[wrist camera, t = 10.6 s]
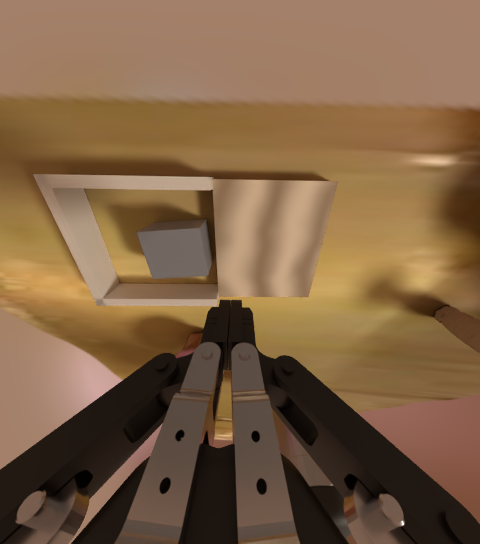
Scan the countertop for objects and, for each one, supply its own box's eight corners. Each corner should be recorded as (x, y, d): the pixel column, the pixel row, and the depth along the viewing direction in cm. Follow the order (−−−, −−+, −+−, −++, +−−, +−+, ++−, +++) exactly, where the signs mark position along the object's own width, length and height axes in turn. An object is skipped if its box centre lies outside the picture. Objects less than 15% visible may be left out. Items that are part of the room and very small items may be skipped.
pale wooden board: (329, 181, 21) (338, 181, 19) (304, 289, 29) (308, 297, 27) (214, 179, 21) (212, 179, 19) (219, 289, 28) (218, 296, 27)
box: (214, 177, 21) (209, 177, 17) (219, 290, 28) (217, 306, 25) (67, 174, 20) (32, 173, 17) (114, 289, 28) (97, 305, 25)
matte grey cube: (207, 218, 23) (199, 228, 19) (213, 259, 26) (208, 275, 22) (155, 221, 23) (136, 232, 19) (167, 261, 26) (152, 278, 22)
